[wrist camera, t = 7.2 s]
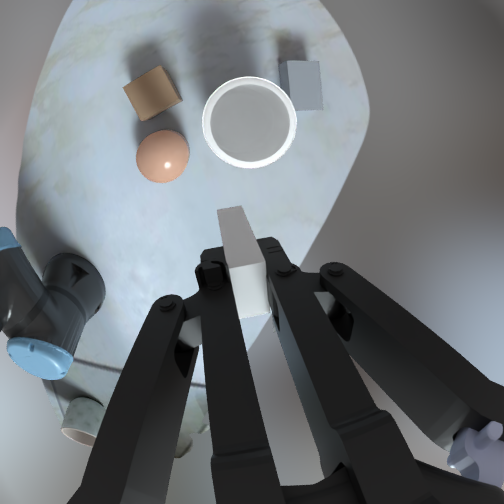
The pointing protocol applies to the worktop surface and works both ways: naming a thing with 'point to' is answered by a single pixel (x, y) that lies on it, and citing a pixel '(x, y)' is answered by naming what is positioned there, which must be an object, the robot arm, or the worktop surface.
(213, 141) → the jar
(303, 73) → the slate block
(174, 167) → the glossy peach dome
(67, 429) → the planter
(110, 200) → the worktop surface
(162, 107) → the walnut block
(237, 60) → the worktop surface
